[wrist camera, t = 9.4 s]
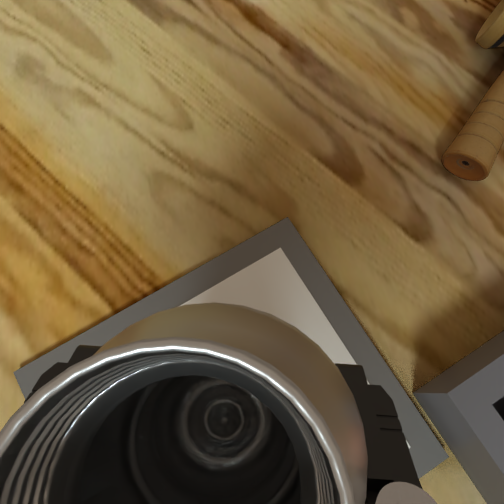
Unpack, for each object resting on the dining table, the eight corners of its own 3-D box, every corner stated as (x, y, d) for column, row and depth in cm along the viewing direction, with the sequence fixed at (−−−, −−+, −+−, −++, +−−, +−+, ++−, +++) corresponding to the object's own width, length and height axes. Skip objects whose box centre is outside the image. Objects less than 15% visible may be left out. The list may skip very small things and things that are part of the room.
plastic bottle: (152, 367, 24) (-201, 260, 5) (277, 344, 24) (411, 164, 5) (167, 501, 22) (-316, 1218, 3) (302, 473, 22) (655, 919, 3)
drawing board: (286, 220, 28) (288, 215, 28) (444, 455, 25) (451, 457, 24) (18, 372, 25) (10, 372, 24) (149, 669, 21) (145, 680, 21)
